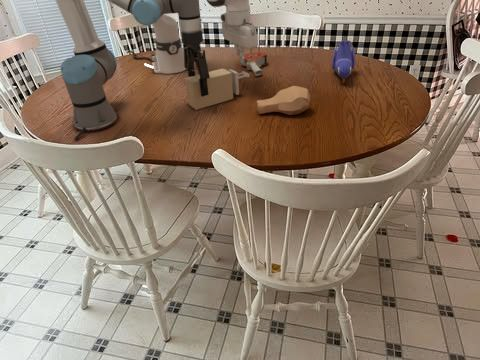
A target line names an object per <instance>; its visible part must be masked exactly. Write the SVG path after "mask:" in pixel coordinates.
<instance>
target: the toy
mask: <svg viewBox="0 0 480 360" xmlns="http://www.w3.org/2000/svg"><path fill="white" fill-rule="evenodd" d="M351 42H352V41H351V40H349V39H346V40H345V41H344V40H340V41H339V45H335V48H334V50H333V53H332V58H331V68H332V71H333V70H334V72H335V73H336V74H337V75H338V76H339V78H340V79H341V81H342V84H345V81H346V79H347V78H349V76H351V74H352V72H353V69H354V68H355V67H356V53H355V48H354V46H353V44H350V43H351Z"/></svg>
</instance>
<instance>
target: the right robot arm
mask: <svg viewBox="0 0 480 360" xmlns="http://www.w3.org/2000/svg"><path fill="white" fill-rule="evenodd" d="M206 2H207V3H208V4H209V6H211V7H213V8H220V7H225V11H226V12H224V13H222V14H220V21H221V30H222V36H223V37H222V38H223V39H224V40H226V41H229V42H231V43H233V45H234V48H235V51H236V55H237V56H239V57H240V56H244V55H245V50H246V49H248V50H252V49H256V48H257V47H258V44H259V41H258V33H257V29H256V27H255V25H254V22H252V20H251V7H250V6H251V5H250V0H206ZM178 24H179V23H178V22H177V20H176V19H175V18H173V17H172V16H170V15H168V14H163V15H162V16H161V17H160V18H159V19H158V21H157V22H155V23H153V24H151V25H152V28H153V31H154V36H155V48H156V50H155V52H154V53H152V54H151V57H147V56H136V55H137V54H136V53H135V52H134V51H132V50H130V49H129V50H127V51H126V53H127V54H129V53H130V54H132V55H133V58H134V59H135V60H136V59H137V60H148V61H150V62H152V63H151V65H150V64H147V63H144V66H145V67H148V68H151V69H153V72H154V74H167V75H168V74H169V75H171V74H177V73H181V72H184V71H187V68H186V69H185V67H184V49H183V44H182V38H180V30H179V25H178Z"/></svg>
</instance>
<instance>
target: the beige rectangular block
mask: <svg viewBox="0 0 480 360" xmlns="http://www.w3.org/2000/svg"><path fill="white" fill-rule="evenodd" d="M209 76H210V78H208V79H207V86H208V95H206V96H203V97H202V96H201V90H200V82H199V79H200V76H199V74H195V76H191V77H188V76H187V77H184V82H185V88H186V95H187V102H188V105H189V106H190V107H191V108H193V109H194V110H195V111H197V110H200V109H201V110H202V109H204V108H207V107H211V106H213V105H218V104H220V103H224V102H227V101H231V100H234V93H233V86H232V73H231V72H229V70H227V69H225V68H219V69H215V70H211V71H209Z"/></svg>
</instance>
